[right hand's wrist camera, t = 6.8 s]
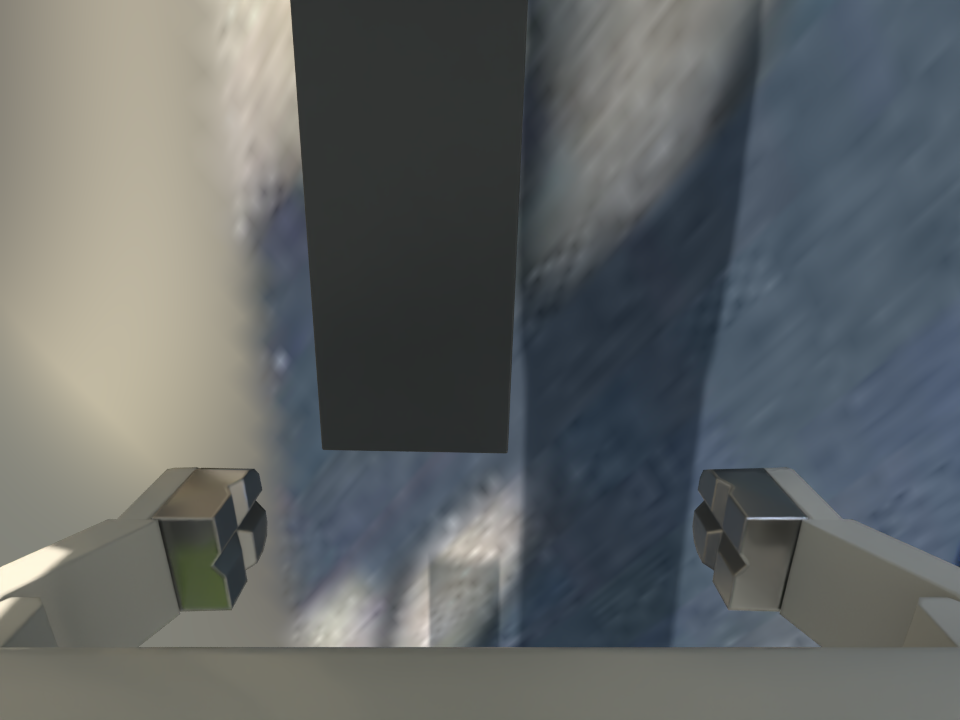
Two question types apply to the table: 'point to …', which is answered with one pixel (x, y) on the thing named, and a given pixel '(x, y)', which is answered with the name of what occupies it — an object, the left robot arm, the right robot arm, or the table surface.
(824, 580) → the right robot arm
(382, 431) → the bar
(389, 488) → the table surface
